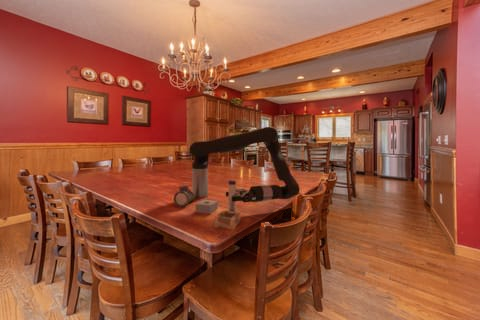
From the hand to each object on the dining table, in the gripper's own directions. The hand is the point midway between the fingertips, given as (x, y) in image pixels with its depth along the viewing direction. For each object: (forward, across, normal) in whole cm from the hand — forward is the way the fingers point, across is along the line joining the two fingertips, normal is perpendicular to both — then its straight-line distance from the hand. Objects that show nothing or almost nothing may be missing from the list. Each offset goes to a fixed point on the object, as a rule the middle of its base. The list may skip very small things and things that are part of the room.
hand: (228, 196), depth 96 cm
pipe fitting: (+16, -25, +9) cm, 32 cm away
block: (+8, -10, +9) cm, 16 cm away
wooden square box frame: (+3, +9, +9) cm, 13 cm away
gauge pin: (-2, 0, +9) cm, 9 cm away
